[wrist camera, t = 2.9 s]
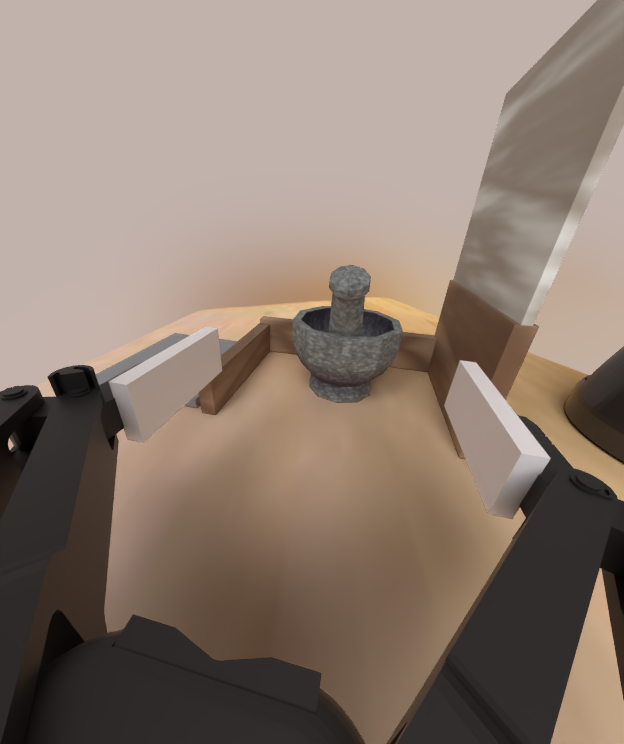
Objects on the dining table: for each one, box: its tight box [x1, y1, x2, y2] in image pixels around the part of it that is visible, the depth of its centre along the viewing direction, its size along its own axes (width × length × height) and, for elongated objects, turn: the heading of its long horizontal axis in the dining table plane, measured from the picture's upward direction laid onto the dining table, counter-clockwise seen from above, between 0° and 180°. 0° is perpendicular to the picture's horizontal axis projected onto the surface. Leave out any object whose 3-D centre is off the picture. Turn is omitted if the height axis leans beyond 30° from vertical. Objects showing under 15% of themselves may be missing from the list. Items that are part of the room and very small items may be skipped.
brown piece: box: [199, 0, 624, 459], centre depth 22 cm, size 21×15×24 cm
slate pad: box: [96, 333, 238, 408], centre depth 30 cm, size 11×13×1 cm
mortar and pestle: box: [292, 265, 403, 403], centre depth 24 cm, size 11×9×12 cm
